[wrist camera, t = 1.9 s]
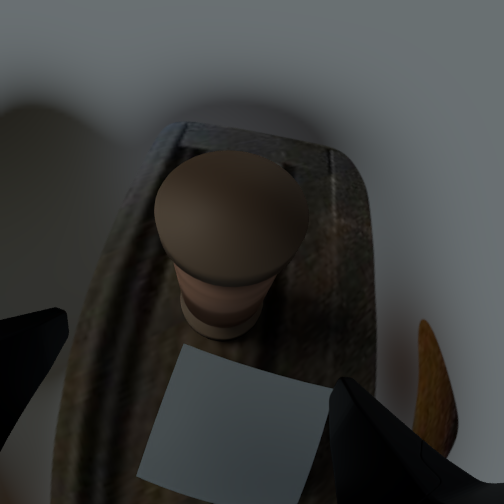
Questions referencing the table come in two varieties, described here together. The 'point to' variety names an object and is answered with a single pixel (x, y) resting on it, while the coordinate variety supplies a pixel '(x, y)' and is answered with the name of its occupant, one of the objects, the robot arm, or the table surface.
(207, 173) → the brown flanged cylinder
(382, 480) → the robot arm
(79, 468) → the table surface
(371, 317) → the table surface
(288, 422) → the grey bridge block
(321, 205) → the table surface
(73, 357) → the table surface
